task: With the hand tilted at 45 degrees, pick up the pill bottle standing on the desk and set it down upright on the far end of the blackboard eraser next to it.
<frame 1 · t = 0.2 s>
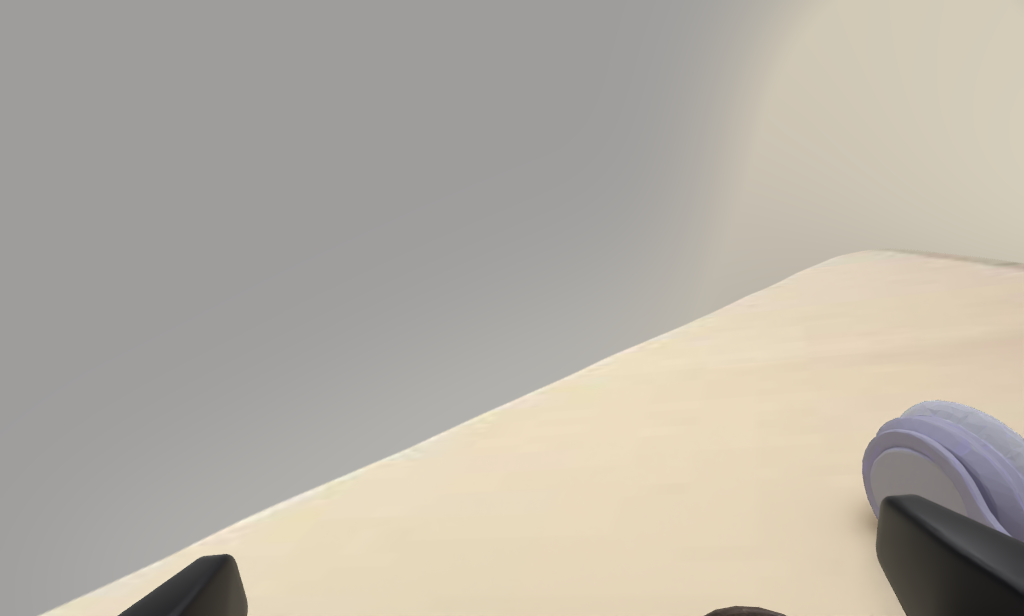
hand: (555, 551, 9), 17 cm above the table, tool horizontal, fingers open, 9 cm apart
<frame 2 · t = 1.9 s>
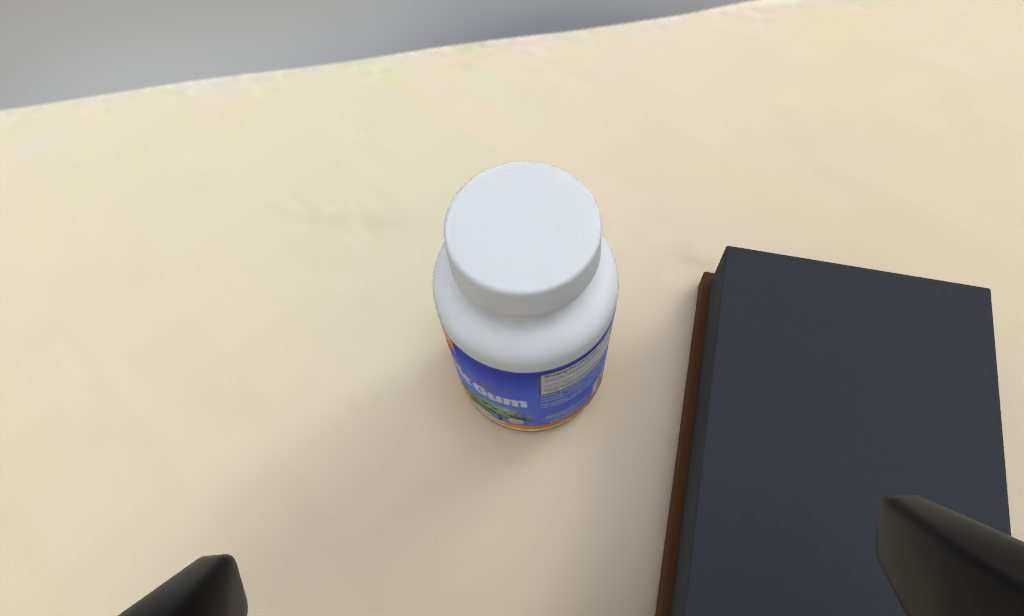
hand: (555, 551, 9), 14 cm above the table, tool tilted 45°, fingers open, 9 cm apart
blackboard eraser: (806, 542, 21), on the table
pill bottle: (532, 367, 25), on the table
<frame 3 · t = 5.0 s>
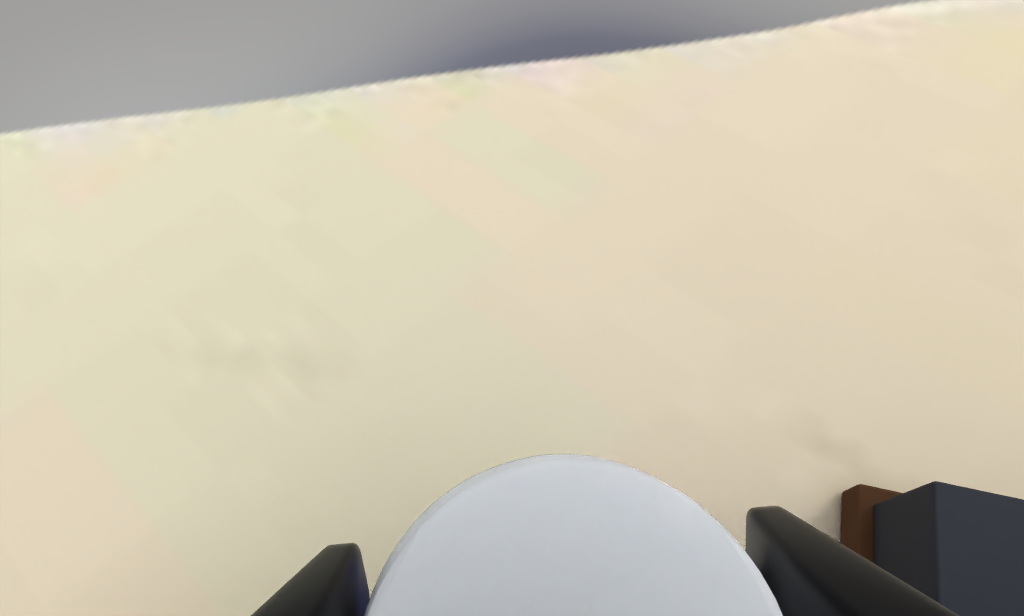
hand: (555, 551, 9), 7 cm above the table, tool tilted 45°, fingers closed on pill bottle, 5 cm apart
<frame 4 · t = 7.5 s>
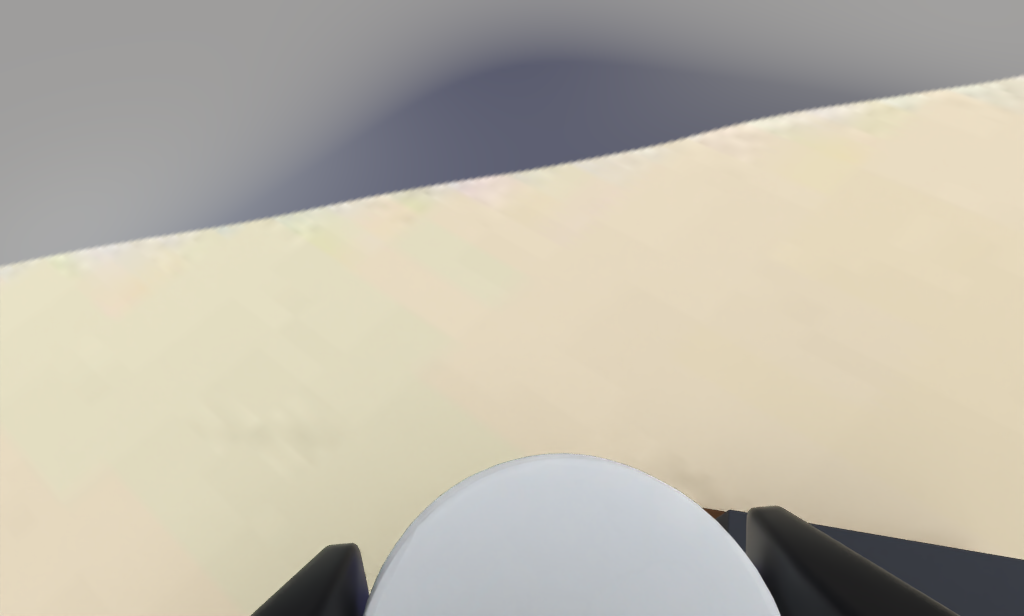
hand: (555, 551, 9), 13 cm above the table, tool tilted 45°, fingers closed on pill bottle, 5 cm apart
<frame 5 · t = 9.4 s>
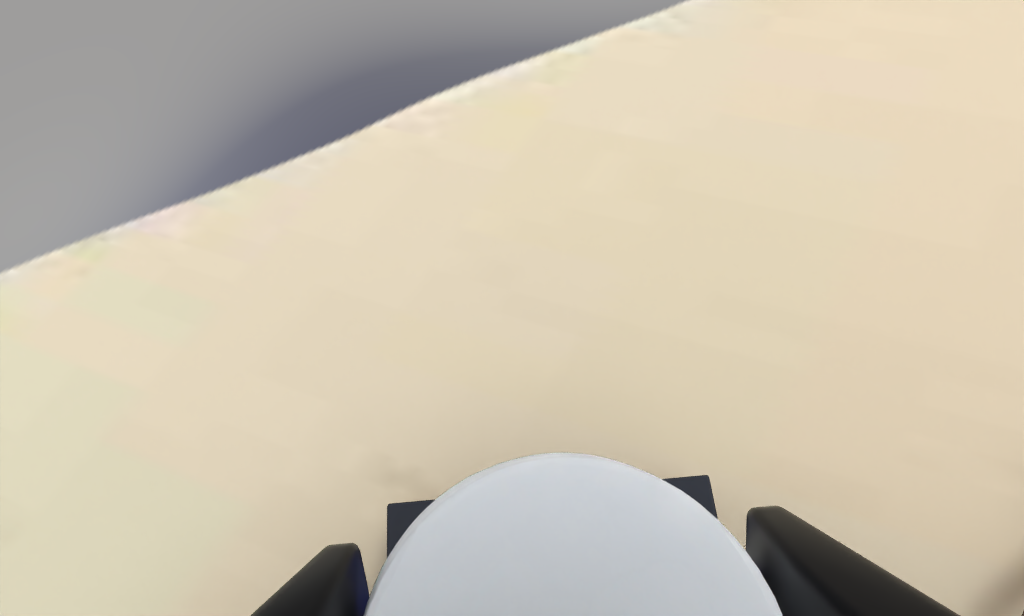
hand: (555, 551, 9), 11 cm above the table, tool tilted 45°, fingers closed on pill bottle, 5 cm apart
when the fingers open (10 cm above the table, at t = 10.3 s): pill bottle stays where it is, resting on blackboard eraser.
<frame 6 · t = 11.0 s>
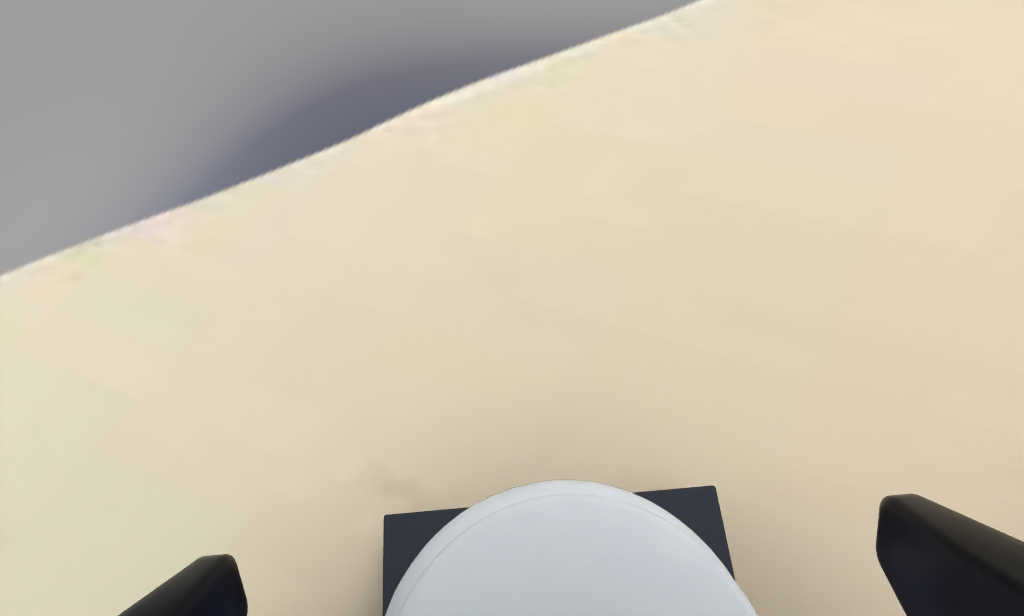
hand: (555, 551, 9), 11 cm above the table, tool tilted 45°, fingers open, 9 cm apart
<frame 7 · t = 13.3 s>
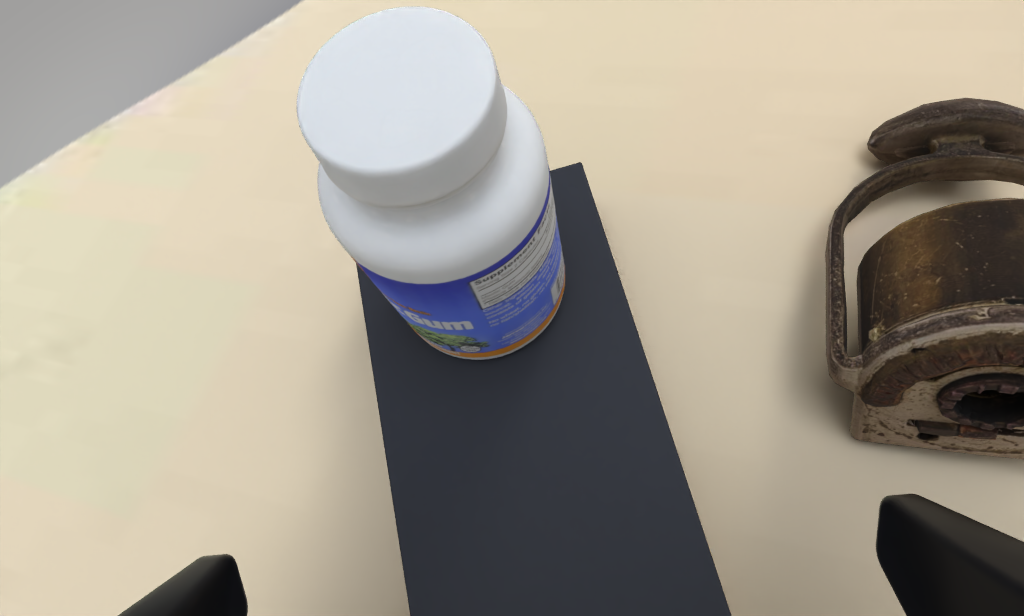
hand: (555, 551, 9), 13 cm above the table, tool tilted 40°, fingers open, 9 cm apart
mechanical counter: (946, 296, 23), on the table
blackboard eraser: (536, 452, 23), on the table
pill bottle: (486, 287, 21), point 3 cm above the table, touching blackboard eraser
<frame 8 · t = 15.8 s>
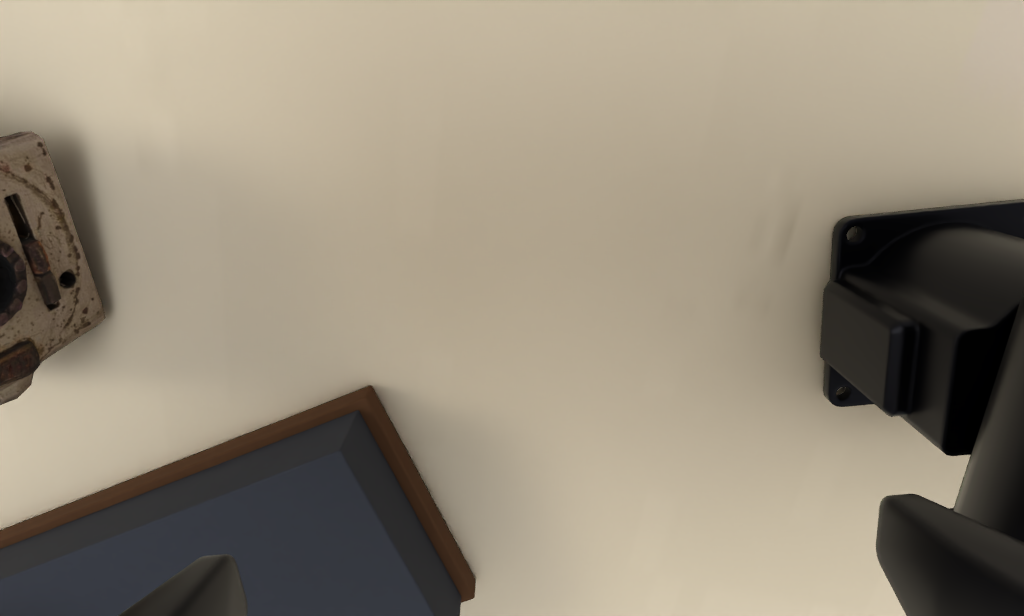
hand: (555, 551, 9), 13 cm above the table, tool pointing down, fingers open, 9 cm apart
blackboard eraser: (213, 565, 25), on the table
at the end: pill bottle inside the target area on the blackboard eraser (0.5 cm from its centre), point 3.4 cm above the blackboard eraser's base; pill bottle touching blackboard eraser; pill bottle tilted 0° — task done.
